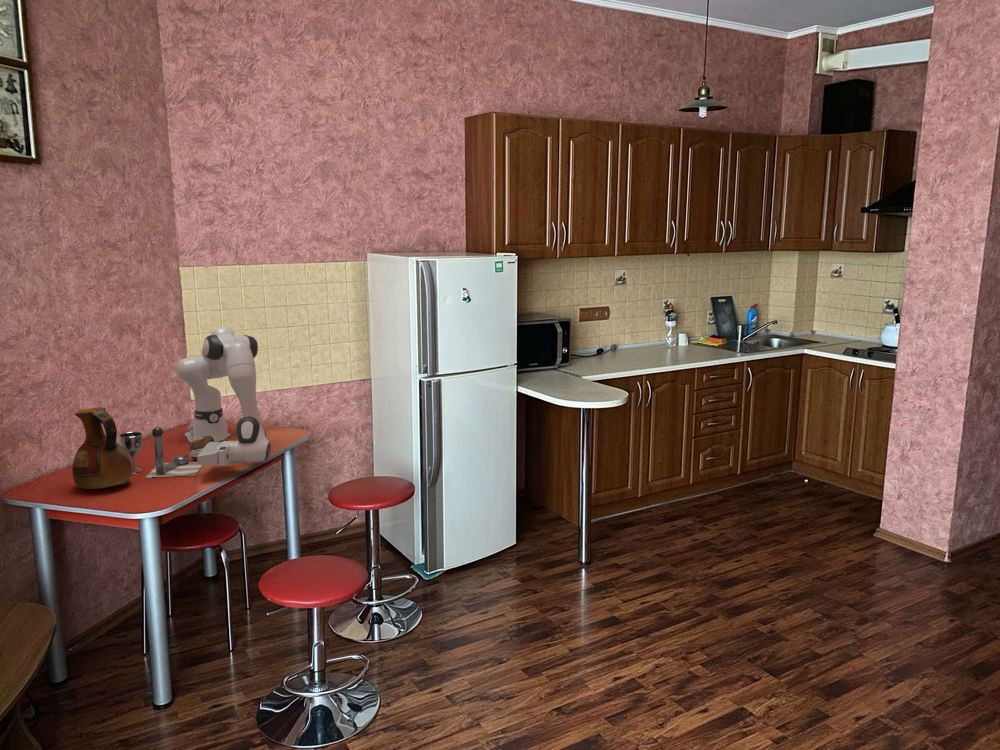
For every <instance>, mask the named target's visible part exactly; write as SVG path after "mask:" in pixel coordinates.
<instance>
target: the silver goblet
mask: <svg viewBox="0 0 1000 750" xmlns="http://www.w3.org/2000/svg"><path fill="white" fill-rule="evenodd" d="M119 442H120V443H119V444H120V446H122V447H123V448H124V450H125V451H126V453H127V454H128V456H129V458H130V461H131V465H132V473H133V472H139V471H141V470H142V469H143V468H142V469H141V467H135V458H136V455H137V453H138V452H139V451H140V449H141V448H142V445H143V433H142V432H140V431H129V432H123V433H121V434H119ZM139 473H140V472H139ZM133 474H134V473H133Z"/></svg>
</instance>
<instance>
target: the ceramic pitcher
mask: <svg viewBox="0 0 1000 750" xmlns="http://www.w3.org/2000/svg"><path fill="white" fill-rule="evenodd" d="M106 409H107V408H106V407H103V406H102V407H92V408H85V409H82V410H81V409H80V410H78V411H75V413H74V414H73V415H74V416H76V417H77V418H78V419H79V420H80V422H81V423H82V425H83V428H84V432H85V439H84V441H83V443H82V444H81V445H80V446H79V448H78V449H77V451H76V453H75V455H74V458H73V461H72V472H71V473H72V478H73V482H74V485H75V486H76V487H77V488H80V489H84V490H85V489H86V490H96V489H98V490H99V489H105V488H110V487H115V486H118V485H119V486H120V485H123V484H126V483H127V482H128V481H129V480H130V479H131V478H132V475H133V474H132V460H131V457H130V456H129V454H128V453H126V451H125V450H124V448H123V447H122V446H121V444H120V443H118V442H117V437H118V429H117V425H116V423H115V421H114V418H113V416H112V415H111V414H109V413H108V411H106ZM103 429H104V430H103Z"/></svg>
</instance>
